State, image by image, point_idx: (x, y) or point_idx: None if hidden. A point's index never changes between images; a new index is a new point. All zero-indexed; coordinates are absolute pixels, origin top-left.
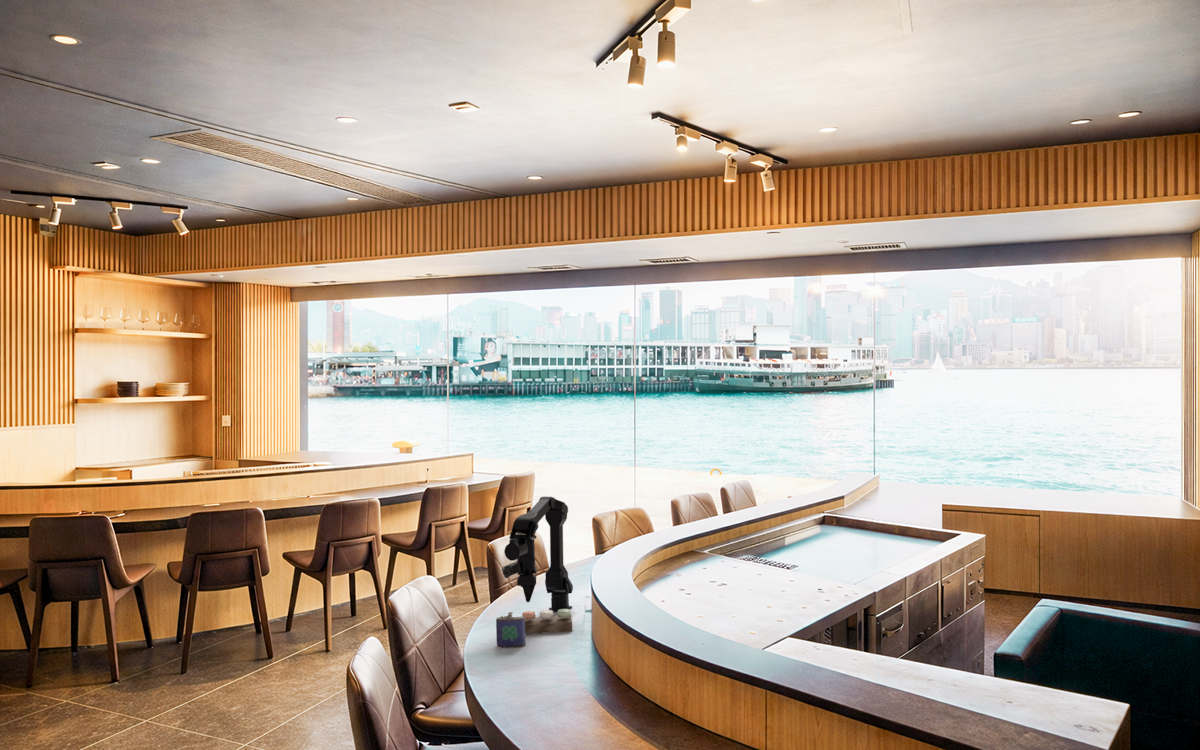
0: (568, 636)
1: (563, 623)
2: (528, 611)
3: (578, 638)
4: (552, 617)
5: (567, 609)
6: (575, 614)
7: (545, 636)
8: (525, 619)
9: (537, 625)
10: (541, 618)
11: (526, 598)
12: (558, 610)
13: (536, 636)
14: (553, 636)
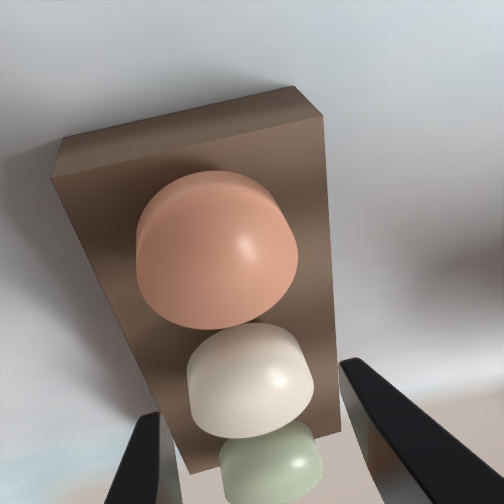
0: (81, 433)
1: (176, 438)
2: (285, 250)
3: (54, 476)
4: (308, 356)
5: (305, 487)
6: (498, 353)
7: (52, 328)
8: (138, 224)
9: (114, 305)
10: (290, 295)
11: (115, 492)
12: (286, 455)
13: (36, 273)
14: (63, 369)
